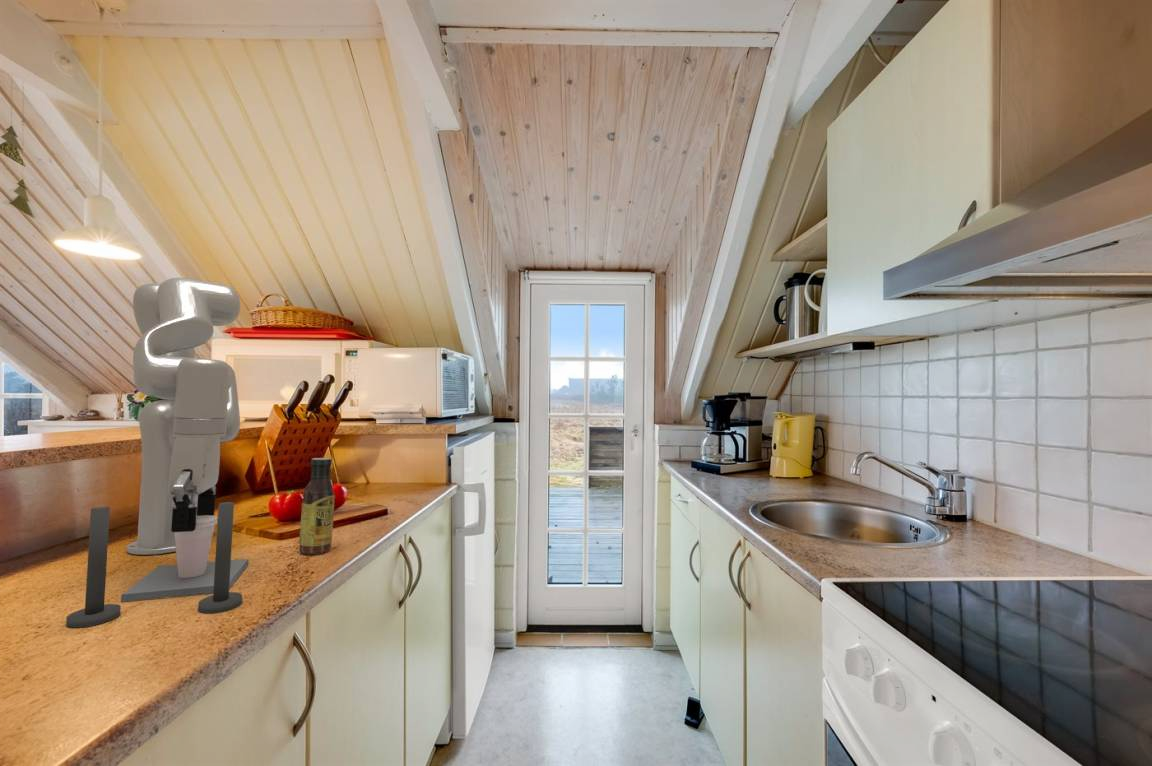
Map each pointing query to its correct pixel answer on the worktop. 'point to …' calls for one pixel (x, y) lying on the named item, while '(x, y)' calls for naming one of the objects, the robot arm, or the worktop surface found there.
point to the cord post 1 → (96, 575)
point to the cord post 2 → (222, 566)
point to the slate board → (179, 582)
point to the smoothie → (195, 546)
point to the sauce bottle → (317, 509)
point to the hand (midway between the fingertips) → (193, 523)
